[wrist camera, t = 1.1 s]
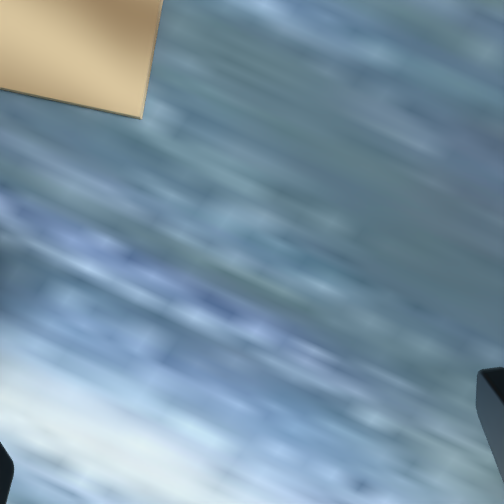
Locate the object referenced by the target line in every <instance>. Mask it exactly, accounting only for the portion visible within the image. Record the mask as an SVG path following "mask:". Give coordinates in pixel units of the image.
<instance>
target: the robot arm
mask: <svg viewBox="0 0 504 504" xmlns="http://www.w3.org/2000/svg"><path fill="white" fill-rule="evenodd" d="M476 410H477V414H478V417H479V420H480V422H481V425H482V428H483V430H484V433H485V435H486V438H487V441H488V443H489V446H490V448H491V451H492V454H493V456H494V459H495V461H496V464H497V467H498V469H499V472H500V475H501V477H502V480H503V482H504V368H503V367H497V368H489V369H482V370H480V371H479V372H478V374H477V386H476ZM13 475H14V464H13V461H12V459H11V458H10V456H9V454H8V453H7V451H6V450H5V448H4V447H3V445H2V444H1V442H0V504H6V502H7V498H8V494H9V491H10V487H11V483H12V479H13Z"/></svg>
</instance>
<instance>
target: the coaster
mask: <svg viewBox="0 0 504 504" xmlns="http://www.w3.org/2000/svg"><path fill="white" fill-rule="evenodd" d="M162 4H163V0H0V89H1V90H6V91H11V92H15V93H20V94H25V95H30V96H34V97H39V98H44V99H48V100H53V101H58V102H62V103H67V104H72V105H76V106H81V107H86V108H90V109H95V110H100V111H104V112H109V113H114V114H119V115H123V116H128V117H133V118H137V119H142V116H143V111H144V105H145V99H146V94H147V88H148V83H149V77H150V71H151V66H152V60H153V54H154V49H155V43H156V38H157V32H158V26H159V21H160V15H161V9H162Z"/></svg>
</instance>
